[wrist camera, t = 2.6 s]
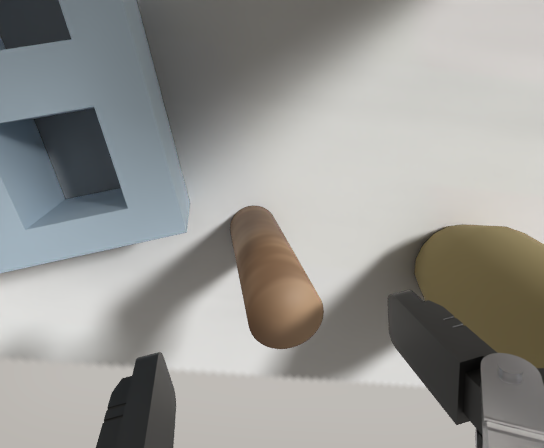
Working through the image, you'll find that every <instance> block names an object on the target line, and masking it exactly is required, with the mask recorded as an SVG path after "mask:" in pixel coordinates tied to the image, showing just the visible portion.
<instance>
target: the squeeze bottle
mask: <svg viewBox="0 0 544 448" xmlns="http://www.w3.org/2000/svg"><path fill="white" fill-rule="evenodd" d="M414 273H415V276H416V279H417V282H418V285H419V287H420V290H421V292H422V294H423V297H424V299H425V301H426V300H430V301H432V302H434V303H436V304H439V305H441V306H443V307H444V308H445V309H447V310H448V311H449V312H450V313H451V314H453V315H454V317H455V318H457V319H458V320H460V321H461V322H462V323H463V325H465V326H467V327H468V328H469V329H470V330H471V331H472V332H474V333H475V334H476V335H477V336H478V337H480V338H481V339H482V340H483V341H484V342H485V343H487V344H488V345H489V346H490V347H491V348H492V349H494V350H495V351H496V352H497V353H507V354H512V355H515V356H518V357H520V358H523V359H525V360H527V361H528V362H530V363H531V364H532V365H534V366H535V367H536V368H544V244H542V243H540V242H539V241H537V240H535V239H534V238H532V237H530V236H528V235H527V234H525V233H522V232H520V231H517V230H514V229H511V228H508V227H502V226H482V225H455V226H448V227H446V228H444V229H442V230H440V231H438V232H436V233H434V234H433V235H432V236H431V237H430V238H429V239H428V240H427V241H426V242H425V243H424V244H423V246H422V248H421V250H420V252H419V254H418V256H417V258H416V262H415V271H414Z"/></svg>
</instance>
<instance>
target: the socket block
mask: <svg viewBox="0 0 544 448" xmlns="http://www.w3.org/2000/svg"><path fill="white" fill-rule="evenodd" d="M58 1H59V4H60V7H61V10H62V13H63V16H64V19H65V22H66V25H67V27H68V30H69V33H70V36H71V39H70V40H64V41H57V42H51V43H44V44H38V45H31V46H25V47H18V48H12V49H5V46H4V44H3V41H2V39H1V36H0V273H4V272H9V271H13V270H18V269H22V268H27V267H31V266H36V265H40V264H45V263H50V262H54V261H59V260H63V259H68V258H72V257H77V256H82V255H86V254H91V253H95V252H100V251H104V250H109V249H113V248H118V247H123V246H127V245H132V244H136V243H141V242H145V241H150V240H155V239H159V238H164V237H168V236H173V235H177V234H182V233H186V232H187V225H188V216H189V208H190V201H189V197H188V193H187V189H186V186H185V182H184V178H183V174H182V170H181V167H180V163H179V159H178V155H177V151H176V148H175V144H174V140H173V136H172V133H171V129H170V125H169V121H168V117H167V114H166V110H165V106H164V102H163V98H162V95H161V91H160V87H159V83H158V79H157V76H156V72H155V68H154V64H153V60H152V57H151V53H150V49H149V45H148V41H147V38H146V34H145V30H144V26H143V23H142V19H141V15H140V11H139V7H138V4H137V0H58ZM92 108H95V111H96V114H97V117H98V120H99V123H100V126H101V129H102V132H103V135H104V138H105V141H106V144H107V147H108V150H109V153H110V156H111V159H112V162H113V165H114V168H115V171H116V174H117V177H118V180H119V183H120V186H121V188H118V189H113V190H109V191H104V192H99V193H94V194H89V195H84V196H79V197H74V198H69V199H65V197H64V194H63V192H62V189H61V187H60V184H59V181H58V179H57V176H56V174H55V171H54V169H53V166H52V164H51V161H50V159H49V156H48V154H47V151H46V149H45V146H44V144H43V141H42V139H41V136H40V134H39V131H38V129H37V126H36V124H35V121H34V119H35V118H41V117H47V116H52V115H58V114H64V113H70V112H75V111H81V110H87V109H92Z"/></svg>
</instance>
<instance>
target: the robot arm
mask: <svg viewBox="0 0 544 448" xmlns="http://www.w3.org/2000/svg"><path fill="white" fill-rule="evenodd" d="M388 320H389V334H390V337H391V340H392V342H393V344H394V346H395V348H396V349H397V350H398V352H399V353H400V354H401V355H402V357H403V358H404V359H405V360H406V362H407V363H408V364H409V366H410V367H411V368H412V369H413V371H414V372H415V373H416V374H417V376H418V377H419V378H420V379H421V381H422V382H423V383H424V384H425V386H426V387H427V388H428V390H429V391H430V392H431V393H432V395H433V396H434V397H435V398H436V400H437V401H438V402H439V403H440V404H441V406H442V407H443V408H444V410H445V411H446V412H447V414H448V415H449V416H450V417H451V418H452V420H453V421H454V422H455V424H456V425H458V424H462V423H465V422H468V421H471V423H472V424H473V425H474V426H475V427H476V432H475V443H476V448H544V368H536V367H535V366H534V365H532V364H531V363H530V362H528V361H527V360H525V359H523V358H520V357H518V356H515V355H512V354H507V353H497V352H496V351H495V350H494V349H492V348H491V347H490V346H489V345H488V344H487V343H485V342H484V341H483V340H482V339H481V338H480V337H478V336H477V335H476V334H475V333H474V332H472V331H471V330H470V329H469V328H468V327H467V326H465V325H463V323H462V322H461V321H460V320H458V319H457V318H455V317H454V315H453V314H451V313H450V312H449V311H448V310H447V309H445V308H444V307H443V306H441V305H439V304H436V303H434V302H432V301H430V300H426V301H423V300H422V299H421V298H419V297H418V296H417V295H416V294H415V293H414V292H413V291H411V290H406V291H403V292H399V293H395V294H391V295H389V296H388ZM175 413H176V398H175V391H174V387H173V384H172V381H171V378H170V375H169V372H168V369H167V366H166V363H165V360H164V357H163V355H162V353H161V352H159V353H155V354H151V355H147V356H143V357H139V358H137V359H136V362H135V367H134V371H133V375H132V376H130V377H126V378H123V379H122V380H121V381H120V382H119V384H118V385H117V386H116V388H115V389H114V391H113V392H112V394H111V397H110V401H109V404H108V410H107V411H106V415H105V419H104V423H103V425H102V428H101V432H100V435H99V439H98V442H97V446H96V448H173V443H174V442H173V441H174V429H175Z"/></svg>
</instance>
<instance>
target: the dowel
mask: <svg viewBox="0 0 544 448" xmlns="http://www.w3.org/2000/svg"><path fill="white" fill-rule="evenodd" d="M230 233H231V238H232V243H233V248H234V253H235V258H236V263H237V268H238V273H239V279H240V284H241V289H242V294H243V299H244V304H245V309H246V314H247V319H248V324H249V328H250V331H251V333H252V335H253V336H254V338H255V339H256V340H257V341H258V342H260V343H261V344H263V345H265V346H267V347H270V348H275V349H287V348H292V347H295V346H298V345H300V344H302V343H304V342H305V341H307V340H308V339H310V338H311V337H312V336H313V335H314V334H315V333H316V331H317V330H318V328H319V327H320V325H321V322H322V319H323V313H324V311H323V304H322V301H321V299H320V297H319V295H318V294H317V292H316V290H315V288H314V287H313V285H312V283H311V282H310V280H309V278H308V276H307V275H306V273H305V271H304V269H303V268H302V266H301V264H300V262H299V261H298V259H297V257H296V255H295V254H294V252H293V250H292V248H291V247H290V245H289V243H288V241H287V240H286V238H285V236H284V234H283V233H282V231H281V229H280V227H279V226H278V224H277V222H276V220H275V219H274V217H273V215H272V214H271V213H270V212H269V211H268V210H267V209H265V208H263V207H260V206H248V207H245V208H243V209H241V210H240V211H238V212H237V213H236V214H235V215H234V217H233V219H232V221H231V224H230Z"/></svg>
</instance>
